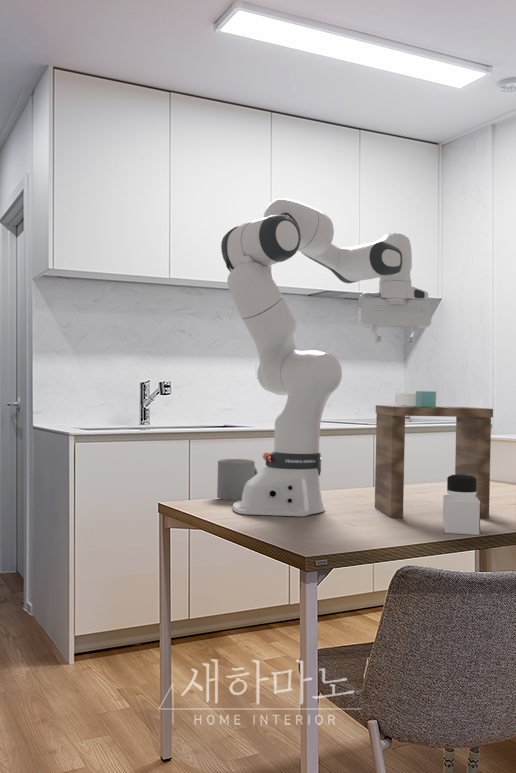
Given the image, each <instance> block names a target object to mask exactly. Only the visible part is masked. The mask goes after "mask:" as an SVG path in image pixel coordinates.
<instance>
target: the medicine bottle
mask: <svg viewBox="0 0 516 773" xmlns="http://www.w3.org/2000/svg"><path fill="white" fill-rule="evenodd" d="M446 480H447V482H446V486H447V487H446V493H447V494H444V495H443V496H442V497H443V501H442V502H443V505H442V507H443V508H442V528H443V530H444V533H445V534H450V535H451V534H453V535H455V534H456V535H470V536H472V535H473V536H479V535H481V518H480V506H481V503H480V501H479V499H478V498H477V497H476V496H475V495H476V488H477V479H476V478H475V477H473V476H470V475H455V474H451V475H449V476H448V477H447V479H446Z"/></svg>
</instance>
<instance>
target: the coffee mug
mask: <svg viewBox="0 0 516 773" xmlns="http://www.w3.org/2000/svg"><path fill="white" fill-rule="evenodd" d="M258 473H259V472H258V469H257V467H256V466H255V460H254V459H248V458H247V459H246V458H221V459H218V460H217V488H216V489H217V490H216V491H217V492H216V493H217V495H216V496H217V499H219V500H223V501H235V502H238V501H241V499H242V493H243V489H244V486H245V484H246V482H247V481H248V480H250V479H251V478H252V477H254V476H255V475H256V474H258Z"/></svg>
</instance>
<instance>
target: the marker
mask: <svg viewBox="0 0 516 773" xmlns="http://www.w3.org/2000/svg"><path fill="white" fill-rule="evenodd" d="M395 405H397V406H402V405H410V406H422V407H436V406H437V391H430V390H429V391H426V390H425V391H424V390H422V391H421V390H419V391H418V390H415V393H409V392H407V393H406V392H396V394H395Z"/></svg>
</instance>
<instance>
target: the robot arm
mask: <svg viewBox="0 0 516 773" xmlns="http://www.w3.org/2000/svg"><path fill="white" fill-rule="evenodd" d="M334 233H335V228H334V224H333V221H332V220H331V218H330V217H329V215H327V214H325V213H324V212H323V211H320V210H319V209H316V208H315V207H312V206H311V205H308V204H305V203H303V202H301V201H297V200H293V199H288V198H284V197H282V198H278V199H274V200H273V201H271V202H270V203H269V204H268V206H267V207H266V209H265V210H264V215H263V217H262V218H259V219H253V220H250V221H247V222H245V223H242V224H241V225H239V226H235V227H233V228H231V229H230V230H229V231H227V233H226V234H224V235H223V237H222V240H221V245H220V246H221V248H220V249H221V255H222V259H223V261H224V264H225V266H226V269H227V270H228V271H229V274H228V275H227V280H226V281H227V282H226V283H227V286H228V290H229V293H230V296H231V299H232V302H233V303H234V306H235V308H236V310H237V312H238V314H239V316H240V318H241V320H242V321H243V323H244V325H245V327H246V329H247V330H248V332H249V334H250V336H251V338H252V340H253V342H254V344H255V347H256V350H257V354H258V357H259V358H258V359H259V364H258V367H257V371H256V372H257V380H258V382H259V385H260V386H261V387H262V388H263V389H264V390H265V391H266V392H267V391H268V392H270V393H273V394H275V395H278V396H287V399H286V403H285V406H284V407H283V410H282V412H281V413H280V414H279V415H277V417H276V418H275V422H274V442H273V443H274V444H273V445H274V448H273V449H274V450H273V451H272V452H270V453H269V452H268V451H267V452H263V453H262V459H263V460H264V461H265V466H266V467H264V468H263V469H262V470H260V471H259V472H258V474H256V475H255V476H254V477H252V478H251V479H250V480H248V481H247V482H246V484H245V486H244V489H243V493H242V499H241V501H235V502H233V504H232V510H233V512H235V513H236V514H237V513H238V514H241V515H254V516H255V515H256V516H257V515H259V516H279V517H280V516H283V517H286V516H287V517H307V516H309V515H314V514H319V513H323V512H325V507H324V502H323V498H322V492H321V481H320V479H321V478H320V476H321V472H322V457H321V452H320V433H321V421H322V416H323V413H324V410H325V407H326V404H327V402H328V401H329V398H330V397H331V395H332V394H333V393H334V392H335V391H336V390H337V389H338V387H339V386H340V384H341V381H342V377H343V376H342V375H343V370H342V366H341V363H340V361H339V360H338V359H337V357H336V356H335V355H333V354H331V353H328V352H324V351H320V350H299V349H298V348H297V346H296V343H295V340H294V333H295V331H296V328H297V321H296V319H295V316H294V315H293V313H292V311H291V309H290V307H289V306H288V304H287V301H286V300H285V298H284V296H283V294H282V292H281V291H280V288H279V287H278V285H277V284H276V282H275V280H274V279H273V275H272V266H273V265H275V264H278V263H281V262H285V261H288V260H289V259H291V258H292V257H294V255H296V253H297V252H300V253H301V254H303V256H304V257H306V258H308V259H310V260H312V261H313V262H315V263H317V264H319V265H321V266H322V267H324V268H327V269H328V270H330V271H331V273H333V274H334V276H335V277H337V279H339V281H341V282H343V283H345V284H353V283H357V282H360V281H367V280H373V279H379V282H378V285H379V286H378V292H363V293H362V294H360V295H359V296H358V300H357V301H358V302H357V303H358V304H357V305H358V307H359V310H358V316H357V323H358V325H359V326H361V327H370V332H371V334H372V336H373V342H374V344H375V343H376V344H380V343H382V340H381V339H382V335H379V334H378V333H377V330H378V327H385V328H386V327H387V328H391V327H392V328H410V331H411V332H412V333H411V335H409V336H408V337H407V338H406V340H407V342H406V343H407V345H408V344H411V345H412V344H415V337H416V335H418V332H419V329H421V328H422V329H425V328H426V329H427V328H429V327H430V326H431V325H432V309H431V305H430V302H429V301H428V299H429V292H427V291H426V290H423V289H420V288H418V287H415V286H412V278H411V270H412V266H413V254H412V245H411V240H410V238H409V237H408V236H406V235H405V234H402V233H396V232H392V233H386V234H384V235H383V236H382V237H381V238H380V239H378V240H376V241H373V242H369V243H368V242H367V243H364V244H360V245H355V246H347V247H338V246H335V245H334V244H332V243H333V240H334Z"/></svg>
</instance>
